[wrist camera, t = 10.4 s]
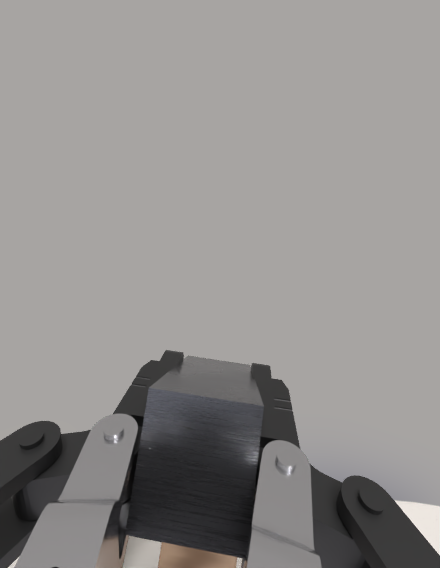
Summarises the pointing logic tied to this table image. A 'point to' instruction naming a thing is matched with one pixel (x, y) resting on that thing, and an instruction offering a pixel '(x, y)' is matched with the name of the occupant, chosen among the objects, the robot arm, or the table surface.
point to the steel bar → (198, 458)
